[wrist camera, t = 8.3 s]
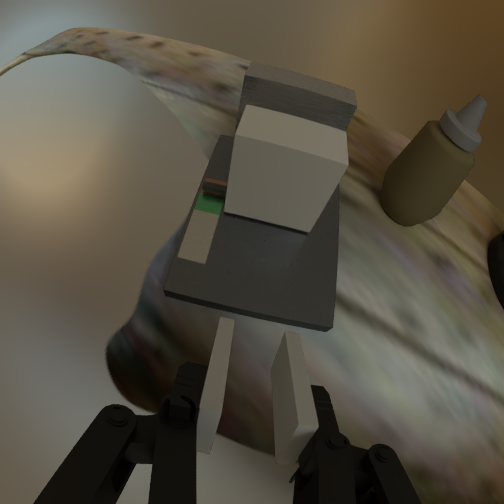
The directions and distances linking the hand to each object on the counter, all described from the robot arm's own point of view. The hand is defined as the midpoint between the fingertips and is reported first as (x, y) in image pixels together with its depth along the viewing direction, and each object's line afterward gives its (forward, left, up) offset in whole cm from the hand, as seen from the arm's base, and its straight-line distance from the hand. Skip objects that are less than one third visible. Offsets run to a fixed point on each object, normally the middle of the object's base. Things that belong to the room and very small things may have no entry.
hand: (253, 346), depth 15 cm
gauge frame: (0, -14, -8) cm, 16 cm away
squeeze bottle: (-16, -21, -8) cm, 28 cm away
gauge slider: (+1, -16, -6) cm, 17 cm away
